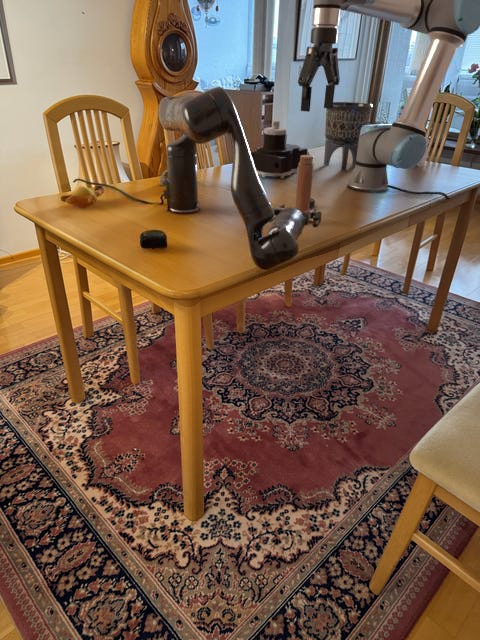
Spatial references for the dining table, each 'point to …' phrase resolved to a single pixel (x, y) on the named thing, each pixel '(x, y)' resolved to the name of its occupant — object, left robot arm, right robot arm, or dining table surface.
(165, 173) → the rock
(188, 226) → the dining table surface
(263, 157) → the mechanical component
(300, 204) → the pinkish brown rounded rod
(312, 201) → the lid
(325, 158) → the planter
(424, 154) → the figurine
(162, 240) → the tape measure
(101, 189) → the toy
